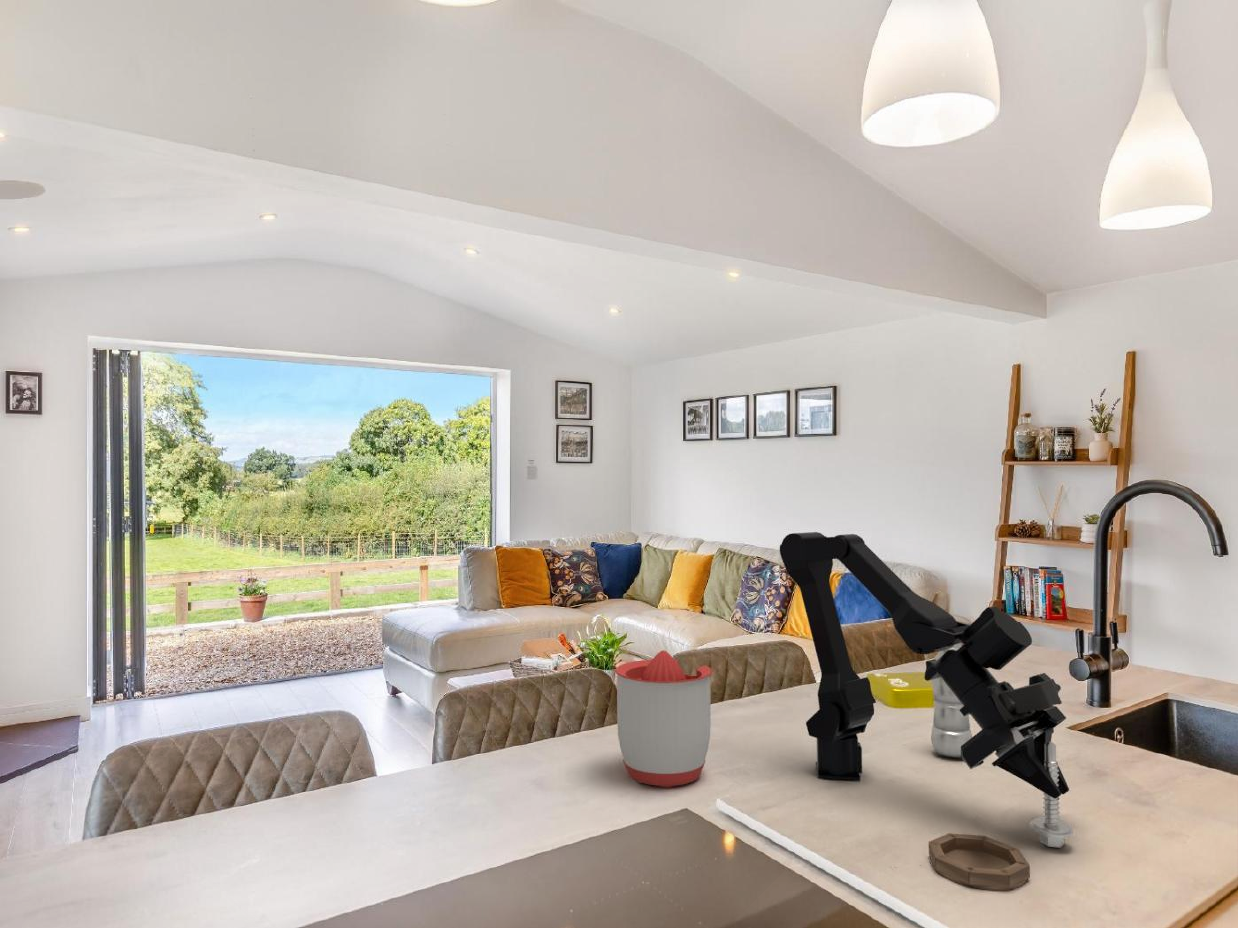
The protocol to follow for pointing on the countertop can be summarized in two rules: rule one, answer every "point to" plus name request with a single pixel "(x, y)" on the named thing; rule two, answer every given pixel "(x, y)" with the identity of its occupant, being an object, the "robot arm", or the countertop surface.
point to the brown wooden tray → (979, 862)
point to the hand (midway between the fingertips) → (1062, 794)
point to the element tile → (902, 689)
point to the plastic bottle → (948, 718)
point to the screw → (1051, 807)
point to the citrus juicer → (663, 720)
